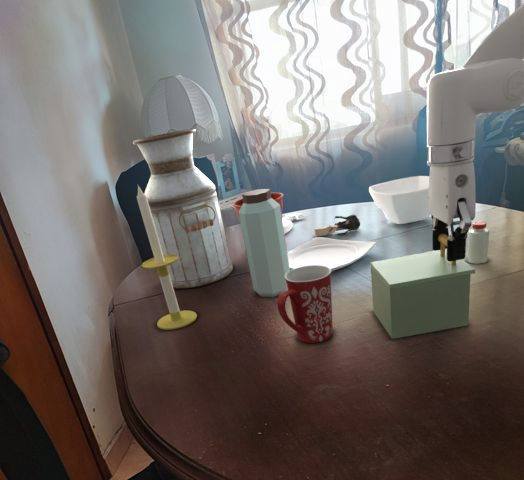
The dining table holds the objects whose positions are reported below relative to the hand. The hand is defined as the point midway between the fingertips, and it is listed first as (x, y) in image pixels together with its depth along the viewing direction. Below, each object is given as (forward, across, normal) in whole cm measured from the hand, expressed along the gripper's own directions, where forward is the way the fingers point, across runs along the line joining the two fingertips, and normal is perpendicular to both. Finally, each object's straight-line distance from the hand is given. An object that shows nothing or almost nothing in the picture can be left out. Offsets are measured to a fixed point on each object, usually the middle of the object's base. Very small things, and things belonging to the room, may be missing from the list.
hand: (448, 253), depth 87 cm
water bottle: (+13, +29, +33) cm, 46 cm away
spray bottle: (+13, +91, +24) cm, 95 cm away
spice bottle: (+12, +24, -18) cm, 33 cm away
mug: (+13, 0, +28) cm, 31 cm away
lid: (+2, 0, +6) cm, 6 cm away
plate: (+13, +46, +17) cm, 50 cm away
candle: (+13, +21, +58) cm, 63 cm away
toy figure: (+13, +69, +8) cm, 71 cm away
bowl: (+13, +69, -16) cm, 72 cm away
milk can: (+13, +53, +54) cm, 77 cm away
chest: (+12, 0, +6) cm, 14 cm away
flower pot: (+13, +69, +32) cm, 77 cm away
